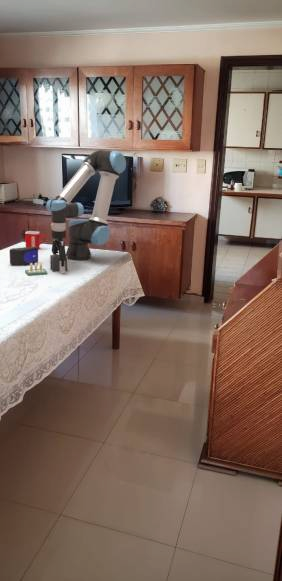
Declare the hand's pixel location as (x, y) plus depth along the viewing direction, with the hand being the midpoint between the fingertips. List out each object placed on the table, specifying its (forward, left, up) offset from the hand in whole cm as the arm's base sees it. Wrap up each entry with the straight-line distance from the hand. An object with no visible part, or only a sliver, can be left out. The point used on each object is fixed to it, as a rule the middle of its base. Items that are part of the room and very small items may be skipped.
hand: (58, 268), depth 245 cm
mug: (+1, -50, -1) cm, 50 cm away
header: (+13, +3, -1) cm, 13 cm away
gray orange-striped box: (0, 0, -1) cm, 1 cm away
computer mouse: (+15, -17, -1) cm, 23 cm away
